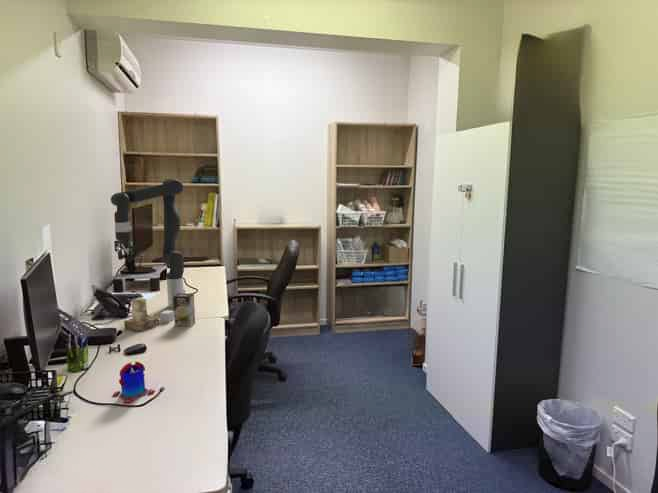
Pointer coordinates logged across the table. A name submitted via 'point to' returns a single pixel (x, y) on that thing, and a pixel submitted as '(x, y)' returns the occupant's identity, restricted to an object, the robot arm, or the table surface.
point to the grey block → (167, 316)
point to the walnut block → (140, 324)
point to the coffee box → (184, 309)
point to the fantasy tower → (132, 383)
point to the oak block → (139, 309)
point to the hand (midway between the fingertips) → (125, 260)
